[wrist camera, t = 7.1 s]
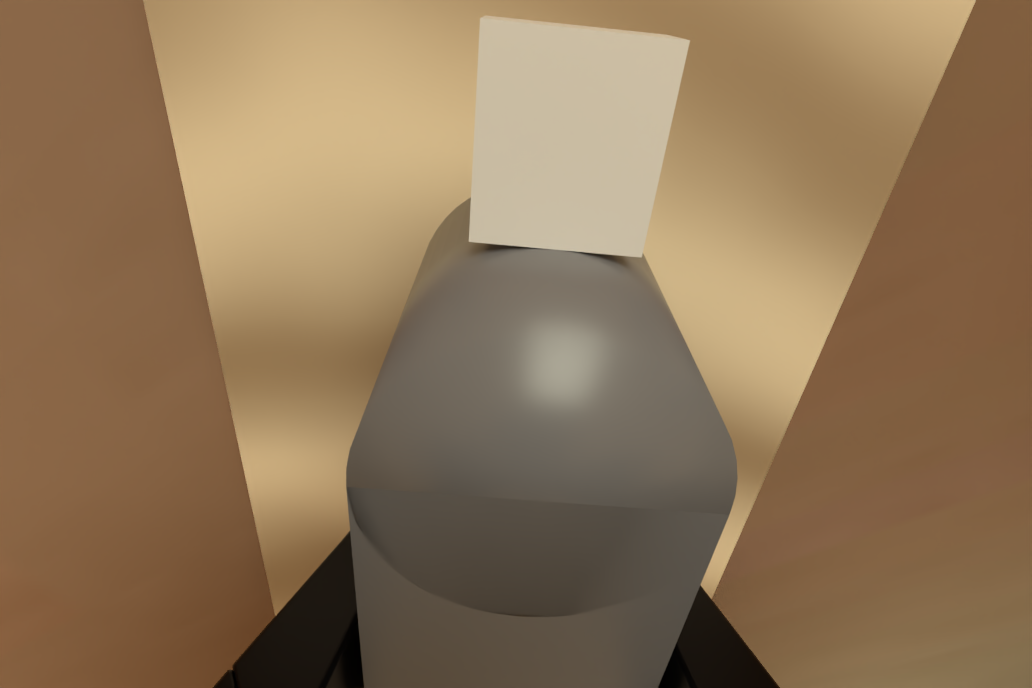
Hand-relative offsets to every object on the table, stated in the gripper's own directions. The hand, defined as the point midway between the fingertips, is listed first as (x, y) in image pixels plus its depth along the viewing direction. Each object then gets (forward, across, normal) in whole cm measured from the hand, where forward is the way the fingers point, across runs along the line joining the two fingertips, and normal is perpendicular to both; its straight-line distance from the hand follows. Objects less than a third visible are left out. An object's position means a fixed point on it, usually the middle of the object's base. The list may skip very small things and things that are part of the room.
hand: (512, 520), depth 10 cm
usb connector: (+1, 0, -1) cm, 2 cm away
